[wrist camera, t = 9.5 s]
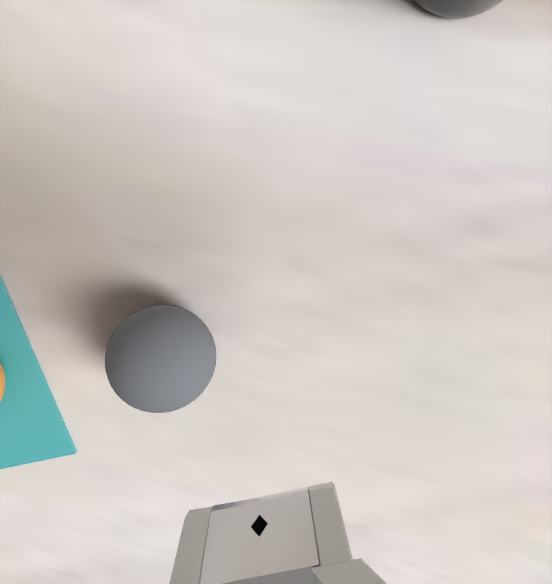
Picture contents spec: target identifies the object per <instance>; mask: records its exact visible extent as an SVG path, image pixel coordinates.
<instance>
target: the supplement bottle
mask: <svg viewBox="0 0 552 584" xmlns="http://www.w3.org/2000/svg"><path fill="white" fill-rule="evenodd" d="M414 1H415V2H416V3H417V4H418V5H420V6H421V7H422V8H424V9H425V10H427V11H429V12H431V13H433V14H435V15H438V16H442V17H446V18H466V17H470V16H474V15H478V14H481V13H483V12H485V11H487V10H489V9H491V8H492V7H494V6H496V5H497V4H499V3H500V2H502V1H503V0H414Z"/></svg>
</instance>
